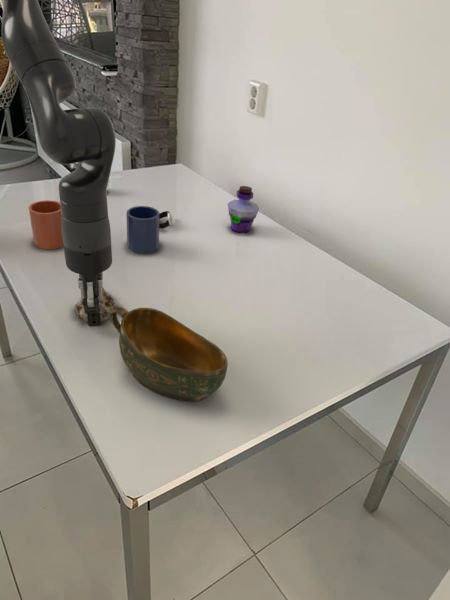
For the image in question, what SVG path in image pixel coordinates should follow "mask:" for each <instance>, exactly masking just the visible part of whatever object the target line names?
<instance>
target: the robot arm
mask: <svg viewBox="0 0 450 600" xmlns="http://www.w3.org/2000/svg"><path fill="white" fill-rule="evenodd" d="M2 1H3V5H2V6H3V7H2V17H1V30H0V31H1V40H2V45H3V49H4V52H5V54H6V56H7V59H8V61H9V63H10V64H11V66H12V68H13V71H14V72H15V74H16V76H17V78H18V79H19V81H20V83H21V85H22V87H23V89H24V91H25V93H26V95H27V99H28V102H29V106H30V109H31V113H32V117H33V121H34V126H35V130H36V135H37V139H38V142H39V145H40V147H41V149H42V150H43V153H44V154H45V155H46V156H47V158H49V159H50V160H51V161H52V162H55V163H56V164H59V165H62V166H63V165H64V166H65V165H73V164H77V163H78V165H77V167H76V168H75V169H74V170H73V171H71V172H69V173H68V174H67V175H64V176H63V177H62V178H61V179H60V181H59V182H58V197H59V202H60V205H61V214H62V237H63V245H64V246H63V253H64V260H65V266H66V268H67V269H68V270H69V271H70V272H72V273H74V274H78V278H77V284H78V289H79V290H80V296H81V300H82V304H83V307H84V312H85V314H87V317H88V321H87V325H88V326H89V327H91V328H93V327H100V326H101V324H102V322H101V315H100V311H101V305H100V303H101V301H102V287H103V288H104V282H103V280H104V279H103V277H104V276H103V275H104V274H103V273H104V272H106V271H107V270H108V269H110V268H111V266H112V265H113V251H112V249H113V248H112V233H111V232H112V231H111V223H110V220H109V207H108V194H107V193H108V192H107V190H108V187H107V185H108V181H109V182H110V176H111V171H112V167H113V162H114V159H115V153H116V143H117V138H116V130H115V127H114V124H113V122H112V119H111V118H110V117H109V115H108V114H107V112H105V110H103V109H101V108H100V107H94V106H88V107H80V108H78V107H77V108H69V109H63V108H62V107H61V105H60V104H62V103H65V102H66V101H68V100H69V99H70V98H71V97H72V96H73V95H74V93H75V92H76V90H77V81H76V78H75V75H74V73H73V71H72V69H71V67H70V65H69V63H68V61H67V60H66V58H65V55H64V54H63V52H62V50H61V49H60V46H59V44H58V42H57V40H56V39H55V37H54V35H53V33H52V30H51V29H50V26H49V25H48V23H47V20H46V18H45V16H44V14H43V13H44V12H43V11H42V8H41V5H40V2H39V0H2ZM108 186H109V185H108Z"/></svg>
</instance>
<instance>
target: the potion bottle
mask: <svg viewBox="0 0 450 600" xmlns="http://www.w3.org/2000/svg"><path fill="white" fill-rule="evenodd" d="M236 197H237V199H233V200H231V201H229V202H227V208H228V209H227V210H228V215H229V218H230V229H231V231H232V232H235V233H237V234H247V233H249V232H251V229H252V226H253V223H254V221H255V219H256V218H257V215H258V213H259V210H260V207H259V206H258V204H257V203H256V202H254V201H251V200H253V198H254V192H253V188H252V187H251V186H248V185H241V186H239V188H238V190H237V191H236Z"/></svg>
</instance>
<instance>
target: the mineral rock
mask: <svg viewBox="0 0 450 600" xmlns="http://www.w3.org/2000/svg"><path fill="white" fill-rule="evenodd" d="M100 305H101V311H100V315H101V323H103V322H106V321H107V320H109V319H111V318H110V314H111V311H112V310H113V307H114V306H117V305H116V302H115V300H114V298H113V297H112V296H111V294H110V293H109V292H108V291H107V290H105V288H104V286H103V287H102V301H101V303H100ZM74 308H75V313H76V317H77V319H78V318H80V319H81V320H83V321H84V322H88V317H87V314H85V312H84V307H83V304H82V299H81V300H80V301H79V302H77V303H75V304H74Z"/></svg>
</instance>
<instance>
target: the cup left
mask: <svg viewBox="0 0 450 600" xmlns="http://www.w3.org/2000/svg"><path fill="white" fill-rule="evenodd" d="M28 215H29V220H30V226H31V232H32V238H33V244H34V245H35V246H36V247H37V248H39V249H44V250H56V249H59V248H64V245H63V237H62V214H61V205H60V201H57V200H38V201H35V202H32V203H31V204H29V206H28Z"/></svg>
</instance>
